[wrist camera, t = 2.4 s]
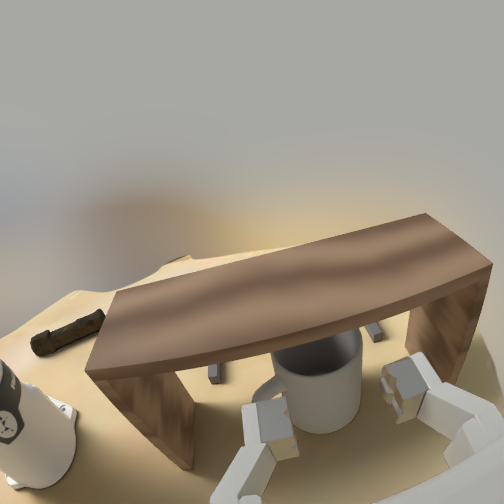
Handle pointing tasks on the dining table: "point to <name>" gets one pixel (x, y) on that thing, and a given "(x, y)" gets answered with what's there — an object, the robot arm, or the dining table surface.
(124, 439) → the dining table surface
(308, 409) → the mug
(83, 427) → the dining table surface
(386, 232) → the wooden bridge arch
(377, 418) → the dining table surface
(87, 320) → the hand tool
